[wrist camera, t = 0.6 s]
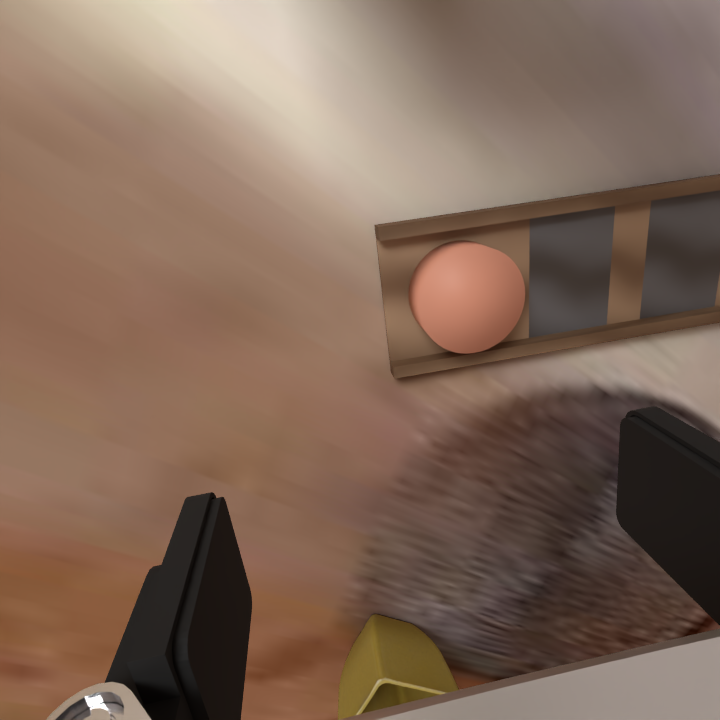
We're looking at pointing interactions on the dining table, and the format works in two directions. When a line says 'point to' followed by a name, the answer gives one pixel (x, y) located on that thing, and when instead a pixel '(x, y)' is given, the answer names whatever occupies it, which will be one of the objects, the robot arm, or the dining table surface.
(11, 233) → the dining table surface
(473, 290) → the salmon rounded disc
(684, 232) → the trap lane
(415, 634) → the flower pot
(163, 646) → the robot arm
